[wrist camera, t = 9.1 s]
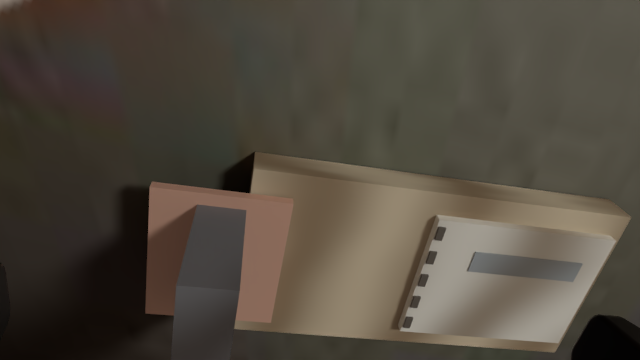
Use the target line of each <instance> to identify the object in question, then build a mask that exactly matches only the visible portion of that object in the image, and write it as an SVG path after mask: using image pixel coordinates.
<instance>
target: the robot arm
mask: <svg viewBox="0 0 640 360" xmlns="http://www.w3.org/2000/svg"><path fill="white" fill-rule="evenodd" d="M9 315H10V302H9V294H8V286H7V279H6V272H5V268H4V266H3V264H2V263H0V340H1V337H2V335H3V333H4V331H5V328H6V326H7V323H8V320H9ZM571 360H640V328H639V327H637V326H636V325H634V324H632V323H631V322H629V321H627V320H626V319H624V318H622V317H619V316H613V315H602V314H598V315H594V316H593V317H591V318H590V319H589V321H588V322H587V324H586V326H585V328H584V329H583V331H582V333H581V334H580V336H579V338H578V340H577V341H576V343H575V345H574V346H573V348H572V352H571Z"/></svg>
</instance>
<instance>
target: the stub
mask: <svg viewBox="0 0 640 360" xmlns="http://www.w3.org/2000/svg"><path fill="white" fill-rule="evenodd" d="M293 205H294V201H293V199H292V198H284V197H276V196H267V195H259V194H251V193H242V192H234V191H226V190H217V189H209V188H201V187H193V186H184V185H176V184H168V183H159V182H152V183H151V185H150V191H149V220H148V249H147V277H146V306H145V313H146V314H159V315H172V316H174V323H173V337H172V351H171V360H230V354H231V347H232V340H233V333H234V327H235V320H238V321H251V322H264V323H271V320H272V314H273V309H274V304H275V299H276V294H277V288H278V283H279V278H280V273H281V268H282V262H283V257H284V252H285V247H286V242H287V236H288V231H289V226H290V221H291V216H292V210H293Z"/></svg>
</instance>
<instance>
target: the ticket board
mask: <svg viewBox="0 0 640 360" xmlns="http://www.w3.org/2000/svg"><path fill="white" fill-rule="evenodd" d="M249 193H251V194H259V195H267V196H276V197H284V198H292V199H293V201H294V205H293V210H292V216H291V221H290V226H289V231H288V236H287V242H286V247H285V252H284V257H283V262H282V268H281V273H280V278H279V283H278V288H277V294H276V299H275V304H274V309H273V314H272V320H271V323H264V322H251V321H238V320H235V327H234V329H241V330H255V331H269V332H282V333H296V334H310V335H324V336H337V337H351V338H365V339H378V340H392V341H406V342H420V343H433V344H447V345H461V346H474V347H488V348H502V349H516V350H529V351H543V352H555V351H556V349H557V348H558V346H559V344H560V342H561V341H562V339H563V337H564V335H565V334H566V332H567V330H568V328H569V327H570V325H571V323H572V321H573V320H574V318H575V316H576V314H577V312H578V311H579V309H580V307H581V305H582V304H583V302H584V300H585V298H586V297H587V295H588V293H589V291H590V290H591V288H592V286H593V284H594V283H595V281H596V279H597V277H598V275H599V274H600V272H601V270H602V268H603V267H604V265H605V263H606V261H607V260H608V258H609V256H610V254H611V253H612V251H613V249H614V247H615V246H616V244H617V242H618V240H619V238H620V237H621V235H622V233H623V231H624V230H625V228H626V226H627V224H628V223H629V221H630V219H631V217H630V216H629V215H628V214H627V213H625V212H624V211H623V210H622V209H620V208H619V207H618V206H617V205H616V204H614V203H613V202H612V201H611V200H608V199H601V198H594V197H586V196H579V195H571V194H564V193H557V192H549V191H542V190H534V189H527V188H520V187H512V186H505V185H497V184H490V183H483V182H475V181H468V180H460V179H453V178H445V177H438V176H431V175H423V174H416V173H408V172H401V171H394V170H386V169H379V168H371V167H364V166H357V165H349V164H342V163H334V162H327V161H320V160H312V159H305V158H297V157H290V156H282V155H275V154H268V153H260V152H255V155H254V162H253V169H252V177H251V184H250V191H249Z"/></svg>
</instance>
